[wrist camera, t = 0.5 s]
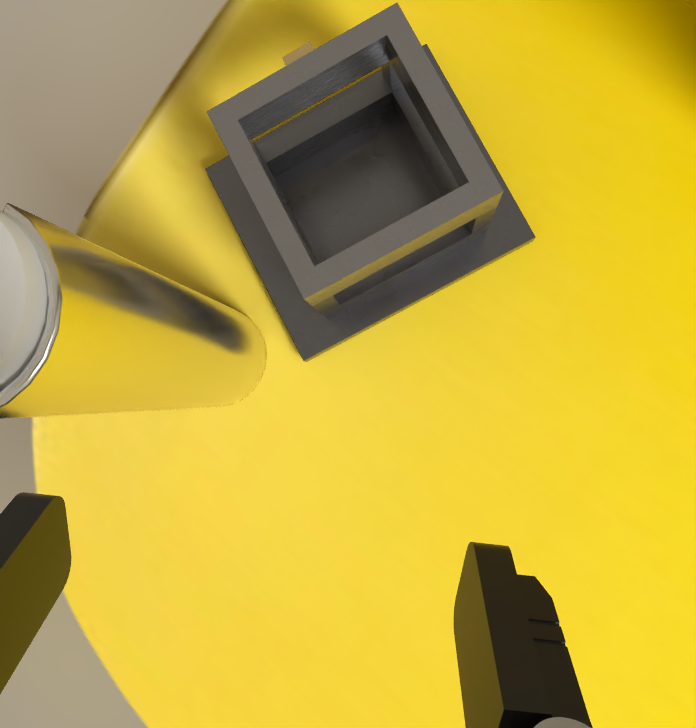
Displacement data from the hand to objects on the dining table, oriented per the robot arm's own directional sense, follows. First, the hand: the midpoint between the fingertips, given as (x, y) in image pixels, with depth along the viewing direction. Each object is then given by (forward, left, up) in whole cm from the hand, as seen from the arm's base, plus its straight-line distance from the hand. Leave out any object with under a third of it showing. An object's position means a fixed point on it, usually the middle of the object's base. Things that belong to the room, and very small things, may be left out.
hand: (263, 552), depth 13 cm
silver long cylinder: (+6, -10, -28) cm, 30 cm away
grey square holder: (-7, -14, -28) cm, 32 cm away
